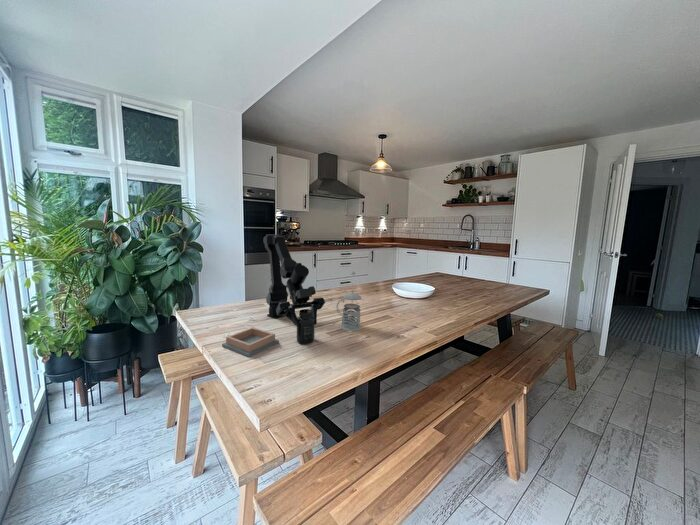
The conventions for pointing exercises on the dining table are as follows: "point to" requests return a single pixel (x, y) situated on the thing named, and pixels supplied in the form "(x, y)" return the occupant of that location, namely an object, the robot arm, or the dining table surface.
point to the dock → (250, 341)
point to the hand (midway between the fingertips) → (307, 325)
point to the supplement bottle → (305, 327)
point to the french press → (351, 313)
